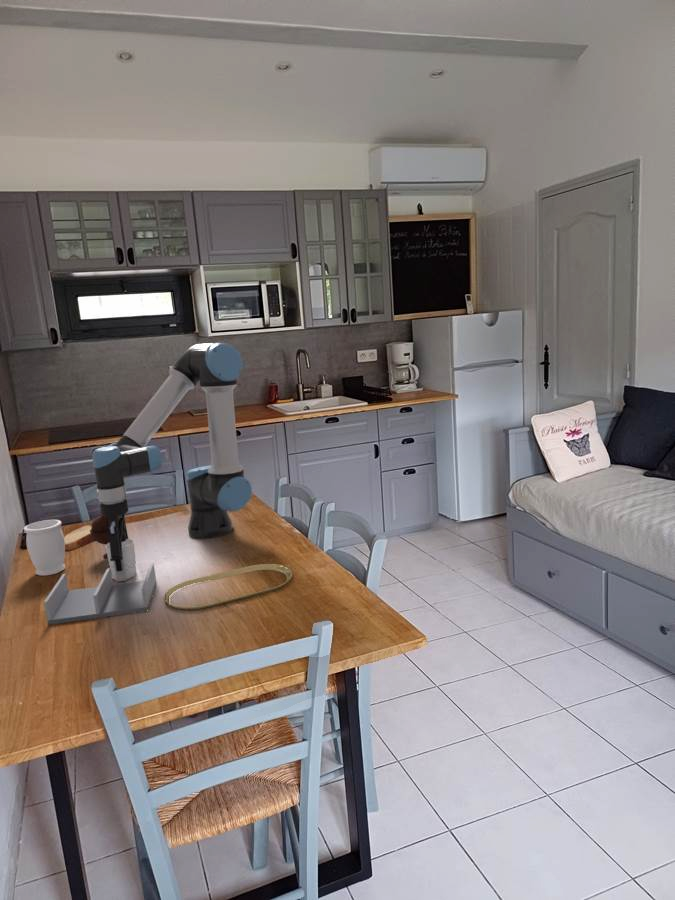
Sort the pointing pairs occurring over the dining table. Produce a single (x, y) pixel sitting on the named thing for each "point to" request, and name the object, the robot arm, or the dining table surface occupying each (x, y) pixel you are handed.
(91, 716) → the dining table surface
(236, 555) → the dining table surface
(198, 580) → the brass oval ring
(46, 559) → the jar
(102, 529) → the ice cream bowl
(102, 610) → the dish rack
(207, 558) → the dining table surface
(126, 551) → the white cup
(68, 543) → the slice of bread
